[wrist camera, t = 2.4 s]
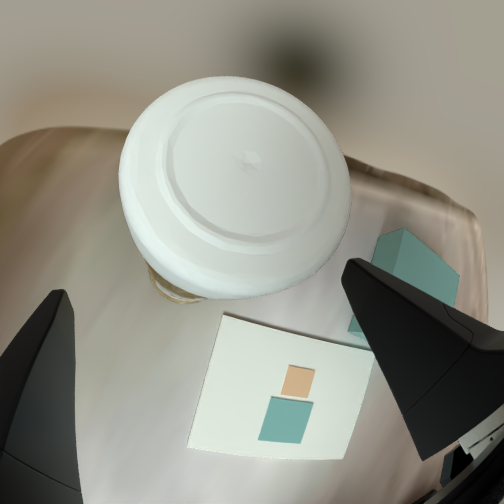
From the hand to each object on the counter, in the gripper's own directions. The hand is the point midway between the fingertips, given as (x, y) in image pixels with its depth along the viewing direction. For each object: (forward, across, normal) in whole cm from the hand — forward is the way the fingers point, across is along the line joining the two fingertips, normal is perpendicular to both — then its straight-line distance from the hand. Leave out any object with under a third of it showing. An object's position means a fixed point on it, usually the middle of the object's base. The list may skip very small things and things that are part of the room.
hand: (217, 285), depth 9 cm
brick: (+4, -16, +9) cm, 19 cm away
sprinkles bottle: (+8, 0, +6) cm, 10 cm away
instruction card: (+1, -6, +12) cm, 13 cm away
